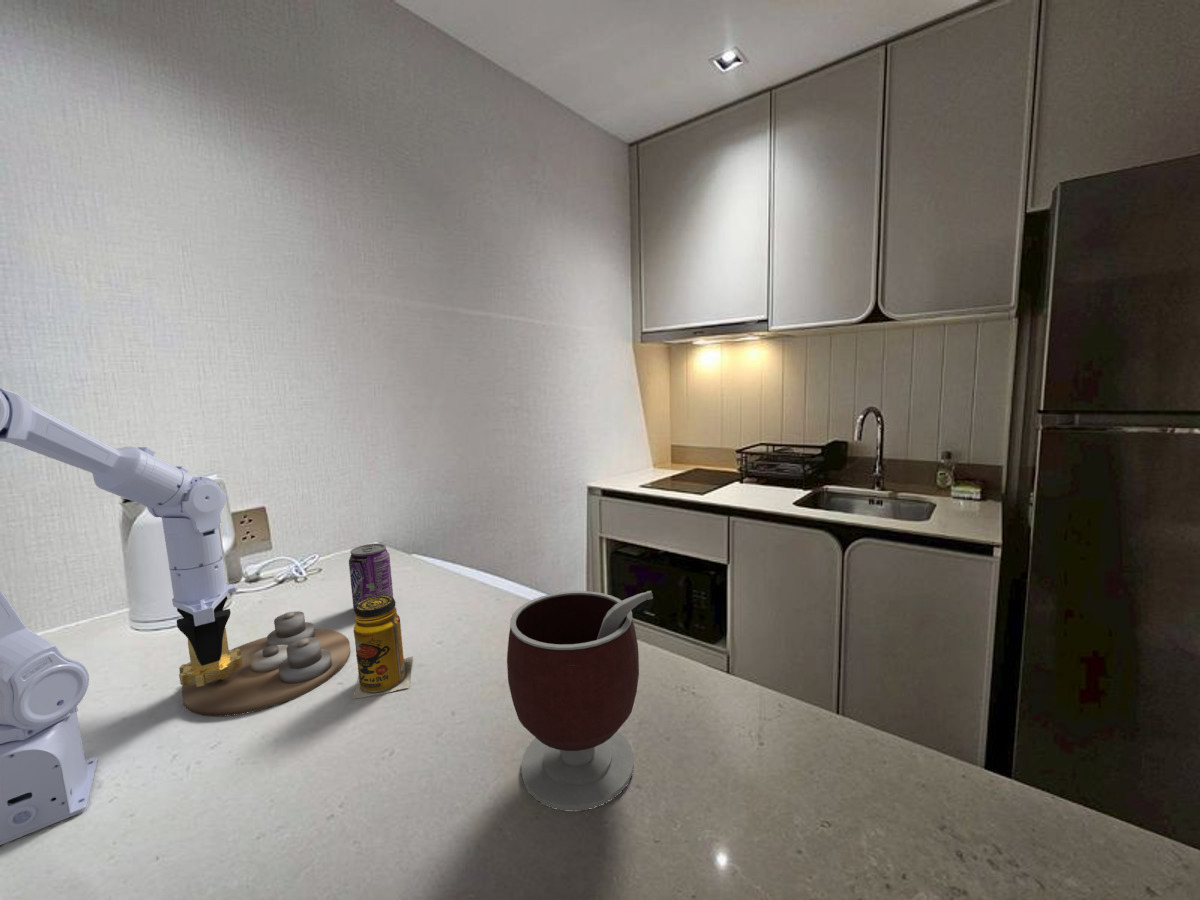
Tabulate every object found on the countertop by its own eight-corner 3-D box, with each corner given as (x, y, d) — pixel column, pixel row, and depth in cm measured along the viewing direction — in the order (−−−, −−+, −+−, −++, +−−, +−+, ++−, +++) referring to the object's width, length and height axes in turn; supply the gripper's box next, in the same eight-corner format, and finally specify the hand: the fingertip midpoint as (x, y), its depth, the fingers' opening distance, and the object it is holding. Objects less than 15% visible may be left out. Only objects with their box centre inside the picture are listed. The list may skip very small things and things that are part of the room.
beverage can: (354, 605, 97) (348, 546, 95) (393, 597, 100) (388, 540, 98) (353, 619, 90) (346, 557, 89) (394, 611, 93) (389, 550, 92)
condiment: (352, 700, 66) (343, 616, 65) (362, 667, 74) (354, 592, 73) (409, 689, 69) (402, 607, 67) (413, 658, 77) (406, 584, 75)
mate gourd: (495, 812, 48) (482, 618, 45) (533, 717, 61) (525, 564, 59) (655, 826, 46) (650, 623, 43) (657, 725, 59) (654, 566, 57)
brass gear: (244, 672, 69) (239, 636, 68) (180, 693, 65) (174, 654, 64) (240, 652, 74) (235, 618, 74) (181, 669, 70) (175, 634, 69)
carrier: (366, 671, 73) (363, 634, 72) (183, 740, 60) (176, 695, 59) (333, 623, 89) (329, 593, 88) (182, 669, 76) (176, 633, 75)
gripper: (237, 568, 65) (250, 664, 66) (228, 544, 76) (239, 627, 77) (166, 583, 60) (182, 686, 62) (168, 555, 71) (181, 643, 73)
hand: (209, 655), depth 69 cm, fingers closed on brass gear, 4 cm apart
